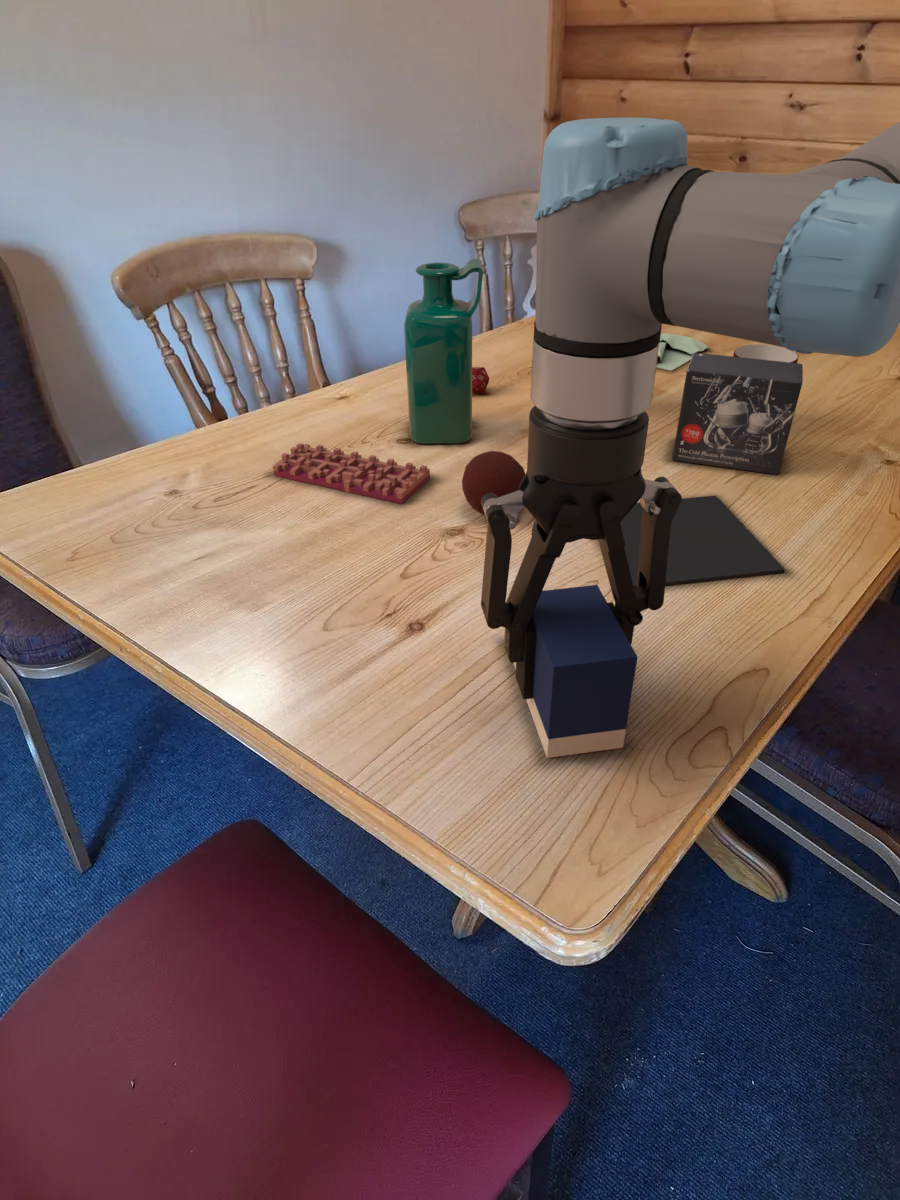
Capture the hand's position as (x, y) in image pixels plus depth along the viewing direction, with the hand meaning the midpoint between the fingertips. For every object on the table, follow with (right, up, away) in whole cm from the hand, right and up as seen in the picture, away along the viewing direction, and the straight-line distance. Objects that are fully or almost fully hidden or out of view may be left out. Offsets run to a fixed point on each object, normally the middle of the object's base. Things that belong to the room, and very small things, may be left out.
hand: (564, 682), depth 62 cm
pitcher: (-10, +30, +45) cm, 55 cm away
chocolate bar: (-22, +22, +35) cm, 47 cm away
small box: (+26, +25, +37) cm, 52 cm away
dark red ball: (-4, +17, +27) cm, 32 cm away
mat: (+15, +13, +21) cm, 29 cm away
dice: (-5, +38, +58) cm, 69 cm away
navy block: (0, -1, +2) cm, 2 cm away
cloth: (+23, +50, +72) cm, 91 cm away
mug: (+32, +30, +45) cm, 63 cm away
